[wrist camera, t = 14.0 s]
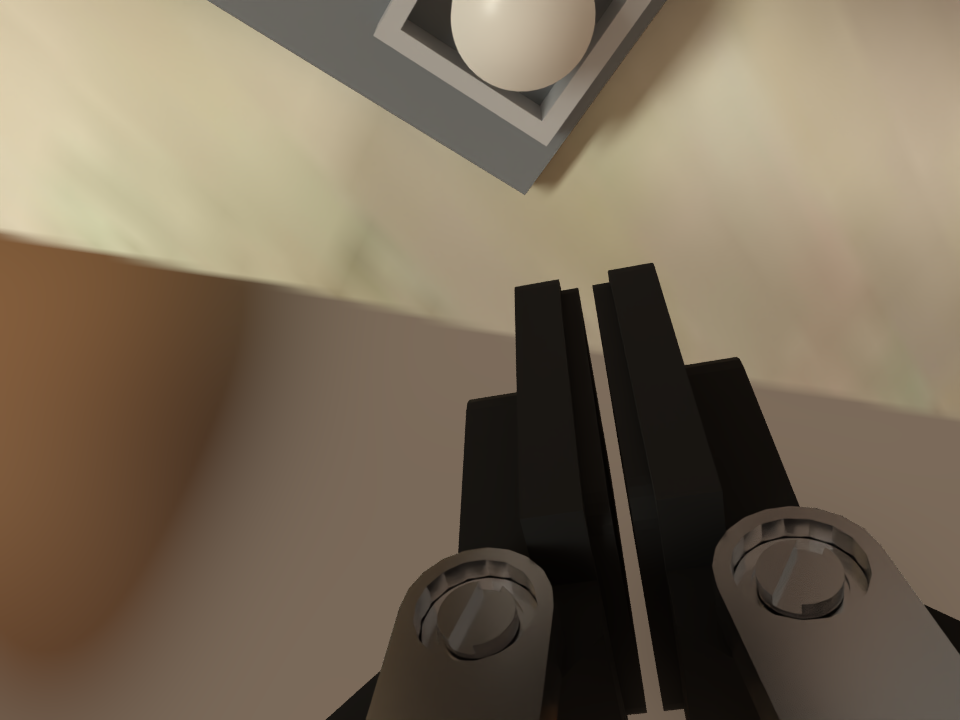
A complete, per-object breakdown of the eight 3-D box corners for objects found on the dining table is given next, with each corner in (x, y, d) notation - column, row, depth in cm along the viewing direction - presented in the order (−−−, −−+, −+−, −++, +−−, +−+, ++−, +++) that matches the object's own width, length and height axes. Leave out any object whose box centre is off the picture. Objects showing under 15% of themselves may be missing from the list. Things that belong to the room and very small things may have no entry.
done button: (427, 23, 26) (424, 41, 25) (501, -103, 24) (502, -92, 23) (537, 95, 28) (540, 117, 26) (616, -19, 26) (625, -4, 24)
